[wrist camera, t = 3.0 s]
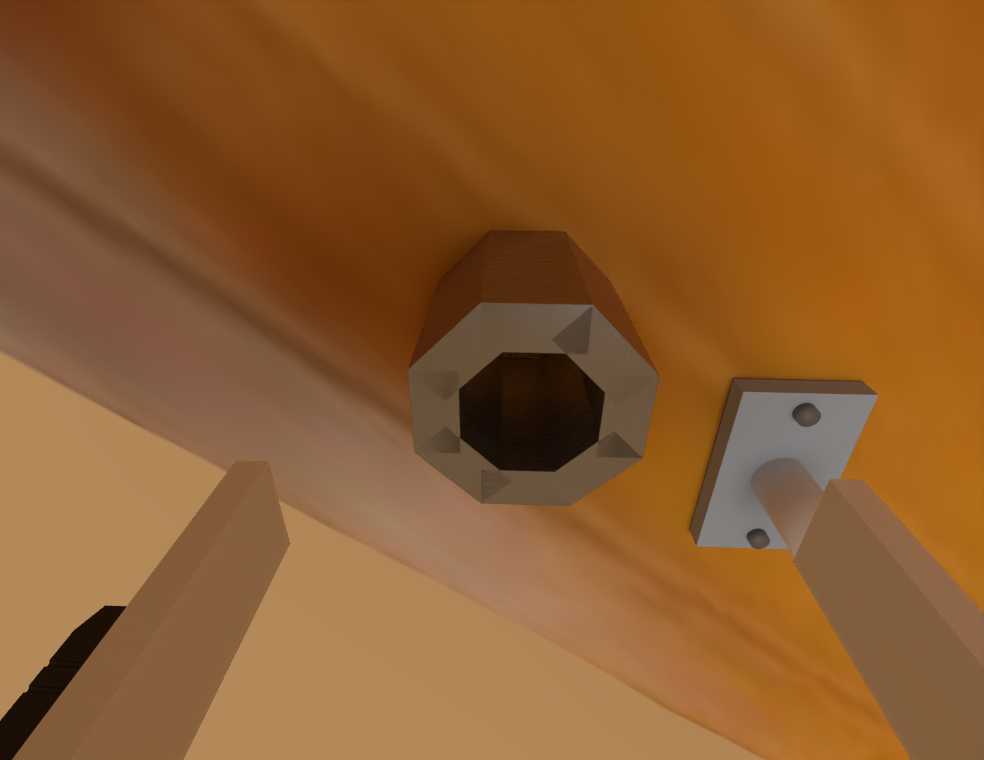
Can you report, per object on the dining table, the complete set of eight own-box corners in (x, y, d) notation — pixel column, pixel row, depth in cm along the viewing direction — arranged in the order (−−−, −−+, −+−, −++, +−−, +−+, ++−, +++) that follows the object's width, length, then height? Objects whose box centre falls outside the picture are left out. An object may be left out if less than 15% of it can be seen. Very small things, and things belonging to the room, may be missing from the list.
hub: (444, 384, 24) (419, 501, 18) (437, 229, 21) (401, 300, 14) (597, 388, 24) (632, 507, 17) (618, 232, 21) (673, 306, 14)
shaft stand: (689, 529, 29) (746, 669, 22) (733, 378, 24) (825, 497, 17) (795, 533, 29) (886, 674, 22) (862, 381, 24) (1008, 503, 17)
